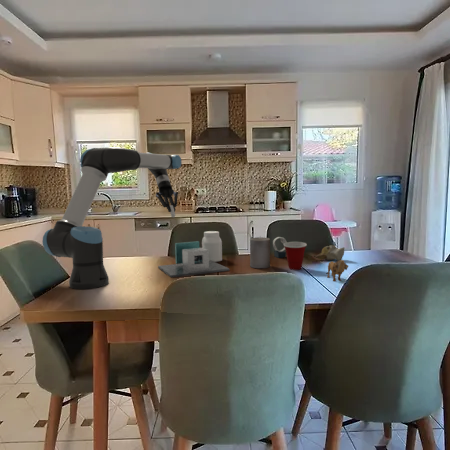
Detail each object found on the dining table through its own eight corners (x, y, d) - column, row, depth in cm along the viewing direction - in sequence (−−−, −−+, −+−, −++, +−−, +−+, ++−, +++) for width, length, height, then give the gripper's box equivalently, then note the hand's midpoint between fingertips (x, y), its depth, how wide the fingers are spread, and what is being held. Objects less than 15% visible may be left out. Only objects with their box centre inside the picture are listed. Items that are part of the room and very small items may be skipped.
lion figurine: (349, 282, 146) (350, 260, 145) (337, 283, 145) (338, 261, 144) (331, 274, 160) (331, 254, 159) (320, 275, 159) (320, 254, 158)
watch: (288, 257, 201) (289, 237, 199) (275, 258, 198) (275, 238, 197) (284, 255, 206) (284, 236, 205) (271, 256, 204) (271, 236, 203)
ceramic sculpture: (341, 245, 183) (312, 245, 191) (341, 262, 183) (313, 261, 192) (347, 243, 191) (319, 242, 200) (347, 259, 192) (320, 258, 200)
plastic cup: (281, 270, 169) (281, 244, 168) (285, 265, 180) (285, 241, 178) (305, 271, 166) (305, 245, 165) (308, 266, 176) (308, 242, 175)
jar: (223, 261, 193) (222, 232, 191) (205, 262, 190) (204, 233, 189) (218, 257, 204) (217, 230, 202) (201, 258, 202) (200, 231, 200)
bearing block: (171, 277, 159) (170, 254, 158) (158, 267, 179) (157, 247, 178) (229, 270, 171) (229, 249, 170) (211, 262, 191) (210, 243, 190)
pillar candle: (258, 263, 185) (258, 234, 184) (274, 266, 178) (274, 235, 177) (245, 266, 179) (245, 236, 177) (261, 269, 172) (261, 238, 170)
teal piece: (183, 268, 168) (182, 246, 167) (175, 263, 179) (175, 243, 178) (207, 265, 173) (207, 244, 172) (198, 261, 184) (198, 241, 183)
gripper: (174, 189, 214) (183, 219, 201) (151, 189, 209) (160, 221, 195) (176, 179, 209) (186, 210, 196) (153, 180, 204) (162, 211, 190)
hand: (173, 215), depth 196 cm, fingers closed
